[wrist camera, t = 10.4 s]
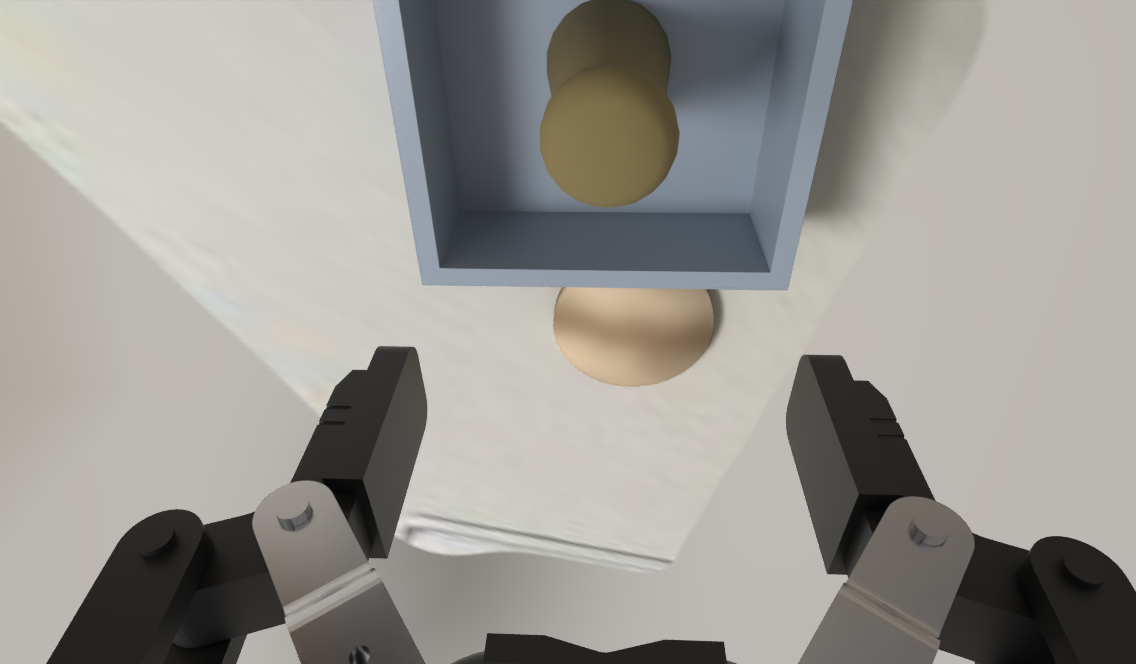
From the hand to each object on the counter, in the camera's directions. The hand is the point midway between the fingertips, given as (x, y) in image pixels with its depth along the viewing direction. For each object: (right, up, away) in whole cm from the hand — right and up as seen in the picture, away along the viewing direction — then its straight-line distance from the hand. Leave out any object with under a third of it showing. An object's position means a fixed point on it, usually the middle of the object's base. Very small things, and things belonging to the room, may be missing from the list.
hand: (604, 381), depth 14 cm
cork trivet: (+3, +2, +29) cm, 29 cm away
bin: (+1, +15, +19) cm, 24 cm away
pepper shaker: (+1, +14, +18) cm, 23 cm away
